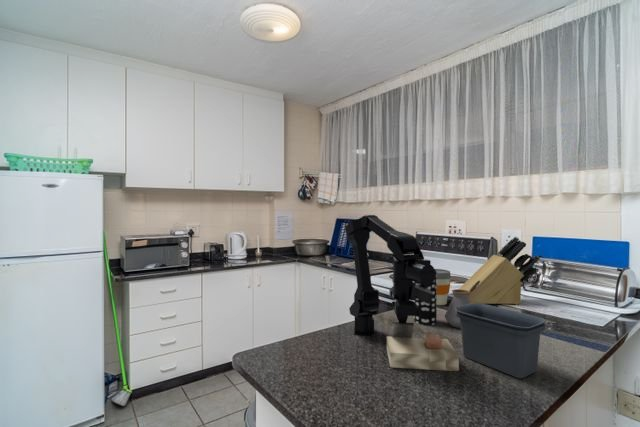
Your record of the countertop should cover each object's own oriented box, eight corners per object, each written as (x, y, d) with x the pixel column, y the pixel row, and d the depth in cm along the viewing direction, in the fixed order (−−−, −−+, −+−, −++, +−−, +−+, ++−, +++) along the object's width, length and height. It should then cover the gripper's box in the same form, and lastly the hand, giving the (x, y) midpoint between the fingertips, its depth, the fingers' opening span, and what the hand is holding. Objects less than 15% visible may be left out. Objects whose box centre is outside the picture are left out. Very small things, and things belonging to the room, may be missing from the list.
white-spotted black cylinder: (425, 326, 122) (425, 273, 122) (409, 320, 129) (409, 269, 129) (441, 323, 125) (441, 271, 125) (425, 317, 133) (425, 267, 133)
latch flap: (393, 324, 97) (392, 322, 98) (391, 337, 100) (391, 335, 101) (413, 325, 96) (413, 322, 97) (412, 338, 100) (411, 335, 100)
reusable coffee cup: (420, 298, 162) (420, 268, 161) (447, 299, 160) (447, 268, 160) (425, 305, 149) (425, 272, 149) (453, 306, 147) (454, 273, 147)
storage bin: (449, 355, 97) (449, 307, 97) (479, 344, 105) (480, 300, 105) (525, 388, 79) (525, 329, 79) (555, 371, 87) (555, 318, 87)
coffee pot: (468, 333, 115) (468, 290, 115) (438, 324, 124) (438, 285, 124) (495, 320, 128) (495, 282, 128) (466, 313, 137) (466, 278, 137)
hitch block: (390, 367, 90) (390, 352, 89) (386, 349, 101) (386, 336, 101) (458, 371, 87) (458, 356, 87) (446, 352, 99) (446, 339, 99)
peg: (426, 362, 92) (427, 339, 92) (424, 356, 96) (424, 333, 96) (441, 363, 92) (441, 339, 92) (438, 357, 96) (438, 334, 96)
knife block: (541, 305, 150) (542, 238, 150) (464, 304, 151) (465, 237, 151) (526, 298, 161) (526, 236, 161) (455, 298, 162) (455, 236, 162)
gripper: (438, 286, 88) (438, 343, 89) (424, 270, 106) (423, 317, 107) (396, 285, 89) (396, 341, 90) (389, 269, 107) (389, 316, 108)
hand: (402, 328), depth 99 cm, fingers closed, pressing on latch flap
